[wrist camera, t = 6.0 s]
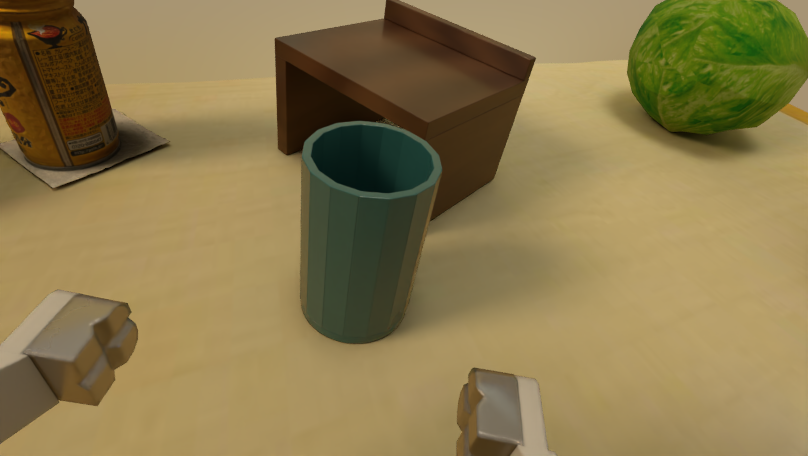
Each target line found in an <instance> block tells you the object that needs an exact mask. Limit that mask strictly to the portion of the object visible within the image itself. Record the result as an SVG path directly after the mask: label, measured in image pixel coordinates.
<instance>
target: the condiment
mask: <svg viewBox="0 0 808 456" xmlns="http://www.w3.org/2000/svg"><path fill="white" fill-rule="evenodd" d="M73 6H74V0H0V108H1V110H2V112H3V115H4V116H5V118H6V122H7V124H8V125H9V127H10V128H11V131H12V133H13V136H14V138H15V140H11V141H8V142H4V143H0V148H1V149H3V150H4V151H5V152H6V153H8V154H9V155H10V156H11V157H12V158H14V159H15V160H16V161H17V162H19V163H20V164H21V165H23V166H24V167H25V168H27V169H28V170H30V171H31V172H32V173H33V174H35V175H36V176H38V177H39V178H41V179H42V180H43V181H45V182H46V183H47V184H49V185H50V186H51V187H52V188H55V187H57V186H60V185H63V184H66V183H68V182H71V181H74V180H77V179H80V178H83V177H85V176H87V175H89V174H93V173H96V172H98V171H101V170H103V169H105V168H109V167H111V166H113V165H115V164H117V163H120V162H122V161H123V160H125V159H127V158H129V157H134V156H136V155H139V154H142V153H145V152H147V151H149V150H152V149H153V148H155V147H157V146H159V145H163V144H165V143H168V142H170V141H168V140H167V139H165V138H162V137H160V136H158V135H157V134H155V133H153V132H152V131H149V130H147V129H146V128H144V127H143V126H141V125H139V124H137V123H136V122H134V121H133V120H132V119H130V118H129V117H126V116H125V115H123V114H122V113H121V112H119V111H117V110H116V109H112V108H111V105H110V101H109V97H108V94H107V90H106V87H105V84H104V80H103V77H102V73H101V70H100V66H99V63H98V60H97V56H96V53H95V49H94V45H93V42H92V38H91V34H90V32H89V27H88V25H87V22H86V20H85V19H84V17H83V16H82V15H81V14H80V13H79V12H78V11H77V10H76V9H75V8H74V7H73Z"/></svg>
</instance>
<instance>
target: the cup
mask: <svg viewBox="0 0 808 456" xmlns="http://www.w3.org/2000/svg"><path fill="white" fill-rule="evenodd" d="M441 174H442V166H441V161H440V157H439V154H438V153H437V152H436V151H435V150H434V149H433V148H432V147H431V146H430V144H429V143H428V142H426V141H425V140H423V139H422V138H420V137H418V136H416V135H415V134H413V133H411V132H409V131H407V130H404V129H401V128H398V127H395V126H392V125H388V124H384V123H376V122H367V121H352V122H341V123H335V124H332V125H330V126H327V127H324V128H321V129H318V130H317V131H316V132H314V133H313V134H312V135H311V136H310V137H309V138H308V139H307V140H306V141H305V142H304V146H303V152H302V166H301V265H300V299H301V306H302V310H303V313H304V315H305V317H306V319H307V320H308V322H309V323H310V324H311V325H312V326H313V327H314V328H315V329H316V330H317V331H318V332H320V333H321V334H323V335H325V336H326V337H329V338H331V339H333V340H336V341H340V342H345V343H354V344H355V343H368V342H372V341H376V340H378V339H381V338H383V337H385V336H387V335H388V334H390V333H391V332H392V331H394V330H395V329H396V328H397V327H398V325H399V324H400V323H401V321H402V319H403V318H404V315H405V312H406V308H407V306H408V304H409V300H410V296H411V292H412V288H413V284H414V280H415V276H416V272H417V268H418V264H419V261H420V257H421V253H422V249H423V245H424V241H425V237H426V233H427V229H428V225H429V221H430V217H431V214H432V210H433V206H434V202H435V198H436V194H437V190H438V186H439V182H440V178H441Z"/></svg>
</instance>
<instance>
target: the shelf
mask: <svg viewBox="0 0 808 456" xmlns="http://www.w3.org/2000/svg"><path fill="white" fill-rule="evenodd" d="M384 18H385V19H379V20H373V21H368V22H363V23H357V24H351V25H345V26H340V27H334V28H328V29H323V30H318V31H312V32H306V33H301V34H295V35H290V36H283V37H278V38H275V58H276V59H275V61H276V95H277V129H278V149H279V150H281V151H282V152H283V153H285V154H286V155H289V154H291V153H294V152H296V151H299V150H302V149H303V146H304V142H305V141H306V140H307V139H308V138H309V137H310V136H311V135H312V134H313V133H314V132H316V131H317V130H318V129H321V128H324V127H327V126H330V125H332V124H335V123H341V122H352V121H367V122H374V121H377V120H380V119H382V118H386V119H388V120H390V121H391V122H393V123H395V124H397V125H398V126H400V127H402V128H403V129H405V130H407V131H409V132H411V133H413V134H415V135H416V136H418V137H420V138H422V139H423V140H425V141H426V142H428V143H429V144H430V146H431V147H432V148H433V149H434V150H435V151H436V152H437V153H438V154H439V157H440V161H441V166H442V174H441V178H440V182H439V186H438V190H437V194H436V198H435V202H434V206H433V210H432V214H431V217H430V221H431V220H432V219H434V218H435V217H437V216H438V215H440V214H441V213H443V212H444V211H446V210H447V209H449V208H450V207H452V206H453V205H455V204H456V203H458V202H459V201H461V200H462V199H464V198H465V197H467V196H468V195H470V194H471V193H473V192H474V191H476V190H477V189H479V188H480V187H482V186H483V185H485V184H486V183H488V182H489V181H491V180H492V179H494V176H495V174H496V171H497V168H498V165H499V162H500V159H501V156H502V154H503V151H504V148H505V145H506V142H507V139H508V136H509V134H510V131H511V128H512V125H513V122H514V119H515V116H516V114H517V111H518V108H519V105H520V102H521V99H522V96H523V94H524V91H525V88H526V85H527V83H528V80H529V76H530V74H531V71H532V68H533V65H534V62H535V59H536V58H535V57H533V56H531V55H529V54H526V53H524V52H521V51H519V50H517V49H514V48H511V47H509V46H507V45H504V44H502V43H500V42H497V41H495V40H493V39H490V38H488V37H485V36H483V35H480V34H478V33H476V32H473V31H471V30H469V29H466V28H464V27H461V26H459V25H457V24H454V23H452V22H449V21H447V20H445V19H442V18H440V17H437V16H435V15H433V14H430V13H428V12H425V11H423V10H420V9H418V8H416V7H413V6H411V5H409V4H406V3H404V2H401V1H399V0H386V7H385V16H384Z"/></svg>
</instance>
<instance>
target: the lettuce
mask: <svg viewBox="0 0 808 456" xmlns="http://www.w3.org/2000/svg"><path fill="white" fill-rule="evenodd" d="M627 74H628V78H629V82H630V86H631V89H632V93H633V94H634V96H635V97H636V99H637V100H638V101H639V103H640V104H641V105H642V106H643V108H644V109H645V110H646V112H647V113H648V114H649V115H650V116H651V117H652V118H653V119H654V120H656V121H657V122H658V123H660V124H661V125H662V126H663V127H665V128H666V129H667V130H669V131H670V132H677V131H684V132H691V133H697V134H704V135H708V134H713V133H718V132H722V131H727V130H734V129H743V128H752V127H757V126H759V125H760V124H762V123H764V122H765V121H766V120H768V119H769V118H770V117H771V116H773V115H774V114H775V113H777V112H778V111H779V110H780V109H782V108H783V107H784V106H785V105H787V104H788V103H789V102H790V101H791V100H792V98H793V97H794V96H795V94H796V93H797V92H798V90H799V89H800V88H801V86H802V85H803V84H804V83H805V81H806V80H807V78H808V38H807V36H806V34H805V32H804V30H803V28H802V26H801V24H800V22H799V20H798V18H797V16H796V14H795V13H794V12H793V11H791V10H790V9H788V8H787V7H785V6H784V5H783V4H781V3H780V2H779V1H777V0H665V1H663V2H662V3H660V4H658V5H656V6H655V7H654V9H653V10H652V12H651V13H650V14H649V16H648V18H647V19H646V20H645V22H644V23H643V25H642V26H641V28H640V30H639V32H638V34H637V36H636V38H635V40H634V42H633V45H632V47H631V49H630V52H629V61H628V70H627Z"/></svg>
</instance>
